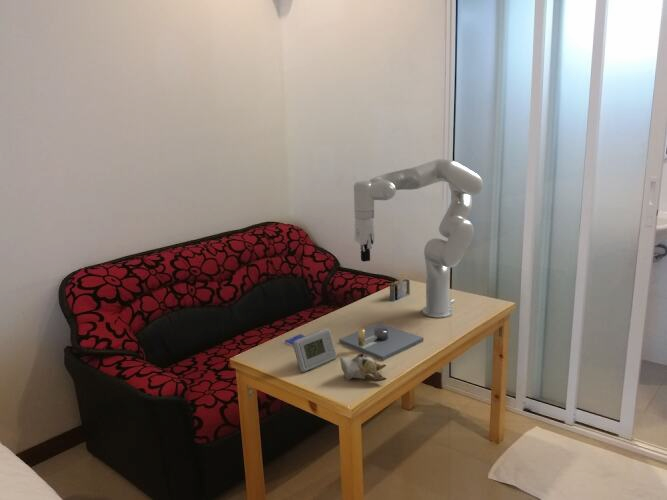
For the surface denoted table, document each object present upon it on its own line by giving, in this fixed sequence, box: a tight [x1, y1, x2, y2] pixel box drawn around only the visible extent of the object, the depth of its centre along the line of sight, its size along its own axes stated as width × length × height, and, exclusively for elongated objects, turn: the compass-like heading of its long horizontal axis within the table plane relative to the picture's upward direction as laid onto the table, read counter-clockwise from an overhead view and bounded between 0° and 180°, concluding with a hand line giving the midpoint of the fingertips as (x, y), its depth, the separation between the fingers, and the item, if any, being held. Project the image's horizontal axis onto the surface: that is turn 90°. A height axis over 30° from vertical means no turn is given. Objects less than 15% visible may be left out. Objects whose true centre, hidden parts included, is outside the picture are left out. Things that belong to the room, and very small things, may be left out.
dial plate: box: [338, 322, 424, 361], centre depth 208 cm, size 22×22×2 cm
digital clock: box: [292, 328, 337, 373], centre depth 191 cm, size 16×9×11 cm, turn 120°
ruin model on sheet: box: [389, 278, 411, 302], centre depth 253 cm, size 11×3×10 cm, turn 135°
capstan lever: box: [357, 328, 388, 346], centre depth 204 cm, size 14×5×6 cm, turn 131°
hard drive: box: [284, 333, 305, 347], centre depth 209 cm, size 2×8×12 cm
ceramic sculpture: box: [339, 353, 387, 383], centre depth 181 cm, size 11×9×15 cm
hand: (365, 260), depth 217 cm, fingers closed
